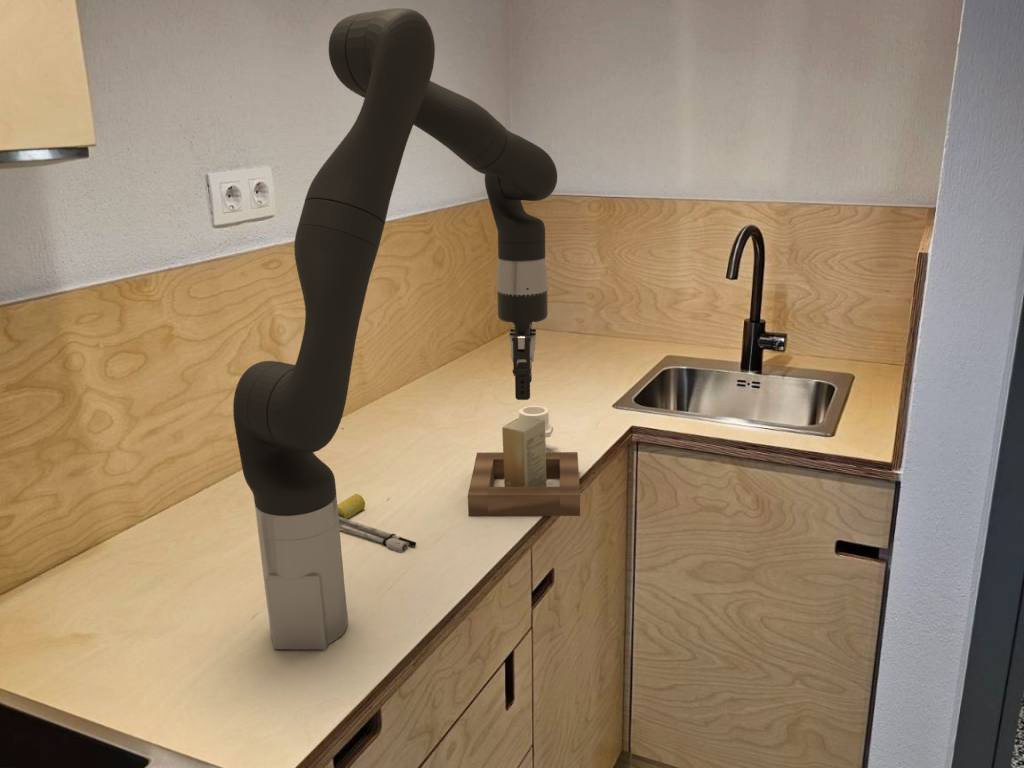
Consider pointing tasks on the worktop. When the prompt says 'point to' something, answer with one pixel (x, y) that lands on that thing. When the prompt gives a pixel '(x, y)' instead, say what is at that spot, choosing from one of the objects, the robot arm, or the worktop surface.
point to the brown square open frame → (524, 489)
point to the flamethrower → (356, 505)
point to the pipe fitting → (538, 416)
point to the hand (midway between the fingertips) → (523, 390)
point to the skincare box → (524, 453)
